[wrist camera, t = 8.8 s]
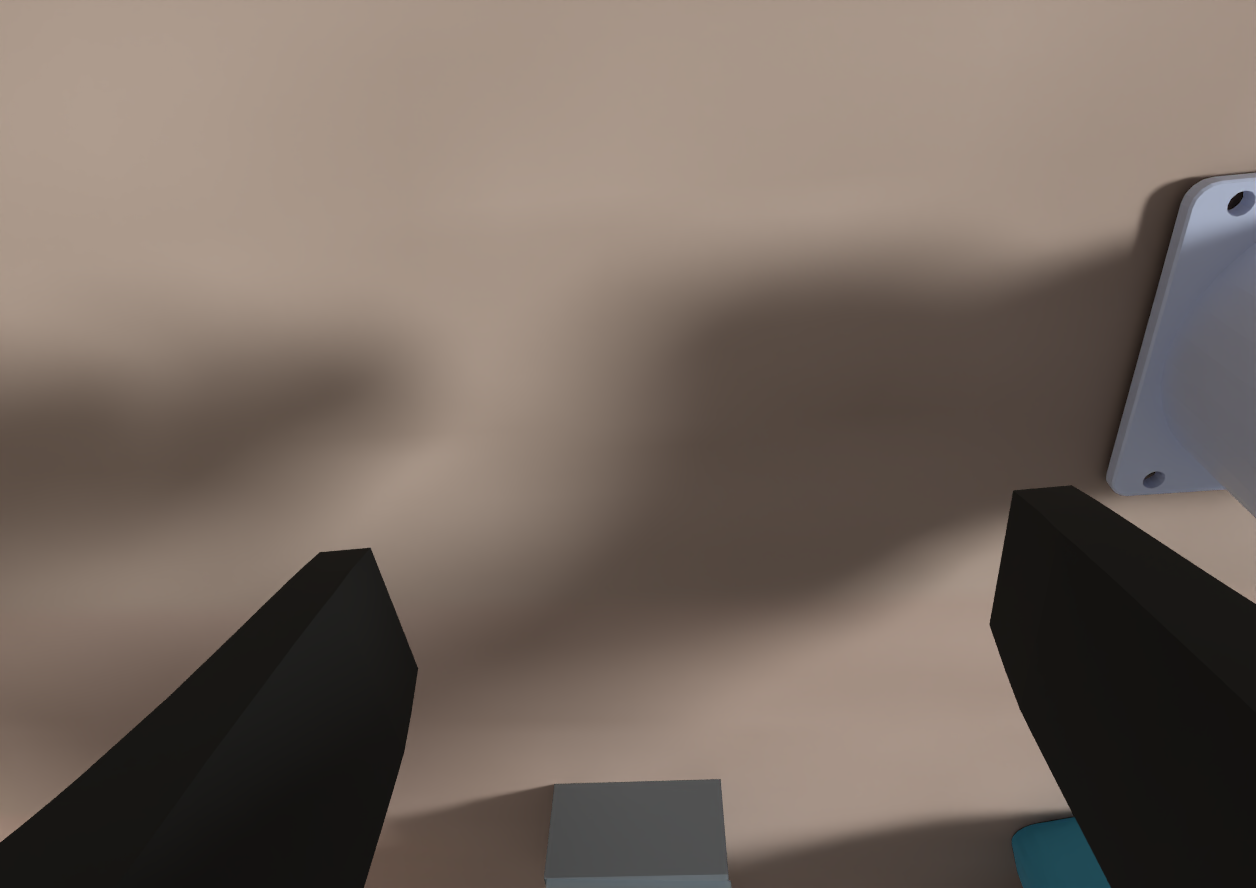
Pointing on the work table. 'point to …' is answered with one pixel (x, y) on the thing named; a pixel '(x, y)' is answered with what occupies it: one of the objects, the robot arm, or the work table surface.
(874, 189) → the work table surface
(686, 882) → the tower middle
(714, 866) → the tower base
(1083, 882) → the block
